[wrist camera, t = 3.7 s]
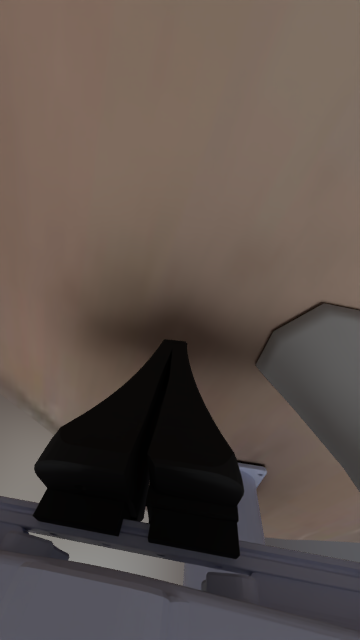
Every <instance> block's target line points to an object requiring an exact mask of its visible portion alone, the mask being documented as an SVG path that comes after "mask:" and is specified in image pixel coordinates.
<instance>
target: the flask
mask: <svg viewBox="0 0 360 640" xmlns="http://www.w3.org/2000/svg"><path fill="white" fill-rule="evenodd" d="M255 366H256V367H257V368H258V369H259V370H260V372H261V373H262V374H263V375H264V376H265V377H266V379H267V380H268V381H269V382H270V383H271V384H272V385H273V386H274V387H275V389H276V390H277V391H278V392H279V393H280V394H281V395H282V396H283V397H284V399H285V400H286V401H287V402H288V403H289V404H290V405H291V406H292V407H293V409H294V410H295V411H296V412H297V413H298V415H299V416H300V417H301V418H302V419H303V420H304V422H305V423H306V424H307V425H308V426H309V428H310V429H311V430H312V431H313V432H314V434H315V435H316V436H317V437H318V438H319V439H320V441H321V442H322V443H323V444H324V445H325V447H326V448H327V449H328V450H329V451H330V453H331V454H332V455H333V456H334V457H335V458H336V460H337V461H338V462H339V463H340V464H341V466H342V467H343V468H344V470H345V471H346V473H347V474H348V475H349V477H350V478H351V480H352V481H353V483H354V484H355V486H356V487H357V489H358V490H359V492H360V310H355V309H350V308H345V307H340V306H335V305H330V304H325V303H324V304H322V305H320V306H318V307H316V308H315V309H313V310H311V311H309V312H307V313H306V314H304V315H302V316H300V317H298V318H297V319H295V320H293V321H291V322H289V323H288V324H286V325H284V326H282V327H280V328H279V329H277V330H275V331H273V333H272V335H271V337H270V339H269V341H268V343H267V344H266V346H265V348H264V350H263V352H262V354H261V356H260V358H259V360H258V362H257V363H256V365H255Z"/></svg>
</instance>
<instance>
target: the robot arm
mask: <svg viewBox="0 0 360 640" xmlns="http://www.w3.org/2000/svg"><path fill="white" fill-rule="evenodd" d="M34 470H35V473H36V474H37V476H38V477H39V478H40V480H41V481H42V482H43V483H44V484H45V486H46V487H47V490H46V492H45V494H44V495H43V497H42V499H41V501H40V503H36V502H30V501H25V500H19V499H14V498H8V497H3V496H0V640H360V562H354V561H349V560H343V559H337V558H333V557H327V556H321V555H316V554H311V553H306V552H300V551H295V550H289V549H284V548H278V547H273V546H267V545H265V539H264V533H263V527H262V521H261V515H260V509H259V503H258V497H257V491H256V488H257V487H258V485H259V484H260V482H261V481H262V479H263V478H264V476H265V475H266V473H267V470H266V468H265V467H262V466H256V465H250V464H243V463H237V460H236V457H235V454H234V452H233V450H232V449H231V447H230V446H229V445H228V443H227V442H226V440H225V438H224V437H223V435H222V434H221V432H220V431H219V429H218V427H217V426H216V424H215V422H214V421H213V419H212V417H211V415H210V413H209V411H208V410H207V408H206V406H205V404H204V402H203V399H202V397H201V395H200V393H199V390H198V388H197V385H196V383H195V380H194V377H193V374H192V371H191V367H190V363H189V359H188V354H187V343H186V342H184V341H175V340H166V339H165V340H163V342H162V343H161V345H160V346H159V348H158V349H157V350H156V352H155V353H154V354H153V355H152V357H151V358H150V359H149V360H148V361H147V362H146V364H145V365H144V366H143V367H142V368H141V369H140V370H139V371H138V372H137V373H136V374H135V375H134V376H133V377H132V378H131V379H130V380H129V381H128V382H126V383H125V384H124V385H123V386H122V387H121V388H119V389H118V390H117V391H116V392H114V393H113V394H112V395H111V396H109V397H108V398H106V399H105V400H104V401H102V402H101V403H99V404H98V405H96V406H95V407H93V408H92V409H90V410H89V411H87V412H86V413H84V414H83V415H81V416H79V417H77V418H76V419H74V420H72V421H71V422H69V423H67V424H66V425H64V426H62V427H60V429H59V430H58V432H57V433H56V434H55V435H54V437H53V438H52V439H51V441H50V442H49V444H48V445H47V447H46V448H45V450H44V451H43V453H42V454H41V456H40V458H39V459H38V461H37V462H36V464H35V467H34ZM149 482H150V483H149ZM145 506H147V509H148V516H149V523H143V522H141V521H142V520H143V518H144V512H145ZM28 532H32V533H37V534H42V535H47V536H52V537H57V538H62V539H67V540H73V541H77V542H83V543H88V544H93V545H98V546H103V547H108V548H113V549H118V550H123V551H128V552H133V553H138V554H143V555H149V556H153V557H159V558H163V559H168V560H173V561H179V562H184V563H185V565H184V581H183V586H181V585H178V584H174V583H169V582H166V581H162V580H158V579H154V578H150V577H145V576H141V575H137V574H132V573H128V572H123V571H118V570H114V569H109V568H104V567H100V566H94V565H90V564H84V563H79V562H73V561H68V559H69V554H68V553H66V552H64V551H62V550H60V549H58V548H57V547H55V546H54V545H53V543H52V542H51V541H49V540H45V539H43V538H39V537H36V536H33V535H29V533H28Z"/></svg>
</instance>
